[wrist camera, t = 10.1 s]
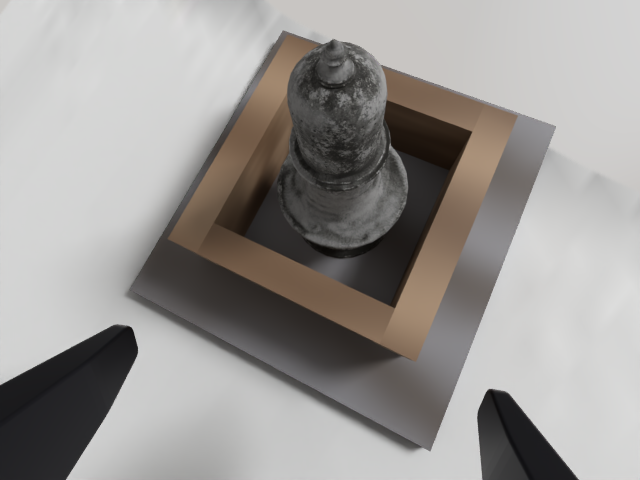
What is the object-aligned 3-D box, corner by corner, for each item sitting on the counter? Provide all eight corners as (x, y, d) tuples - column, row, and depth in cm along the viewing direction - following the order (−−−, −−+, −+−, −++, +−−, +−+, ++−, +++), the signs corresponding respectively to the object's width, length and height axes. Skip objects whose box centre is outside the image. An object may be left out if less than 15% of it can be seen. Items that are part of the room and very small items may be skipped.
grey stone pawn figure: (284, 260, 20) (189, 153, 8) (294, 158, 21) (226, -57, 10) (396, 267, 19) (468, 163, 8) (399, 162, 21) (464, -61, 9)
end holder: (426, 446, 18) (453, 485, 13) (137, 291, 21) (76, 278, 16) (548, 133, 21) (604, 77, 16) (285, 40, 24) (269, -30, 20)
